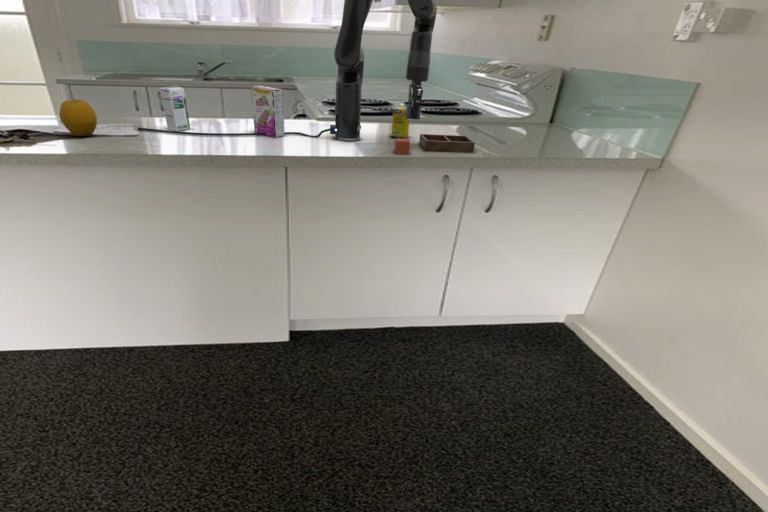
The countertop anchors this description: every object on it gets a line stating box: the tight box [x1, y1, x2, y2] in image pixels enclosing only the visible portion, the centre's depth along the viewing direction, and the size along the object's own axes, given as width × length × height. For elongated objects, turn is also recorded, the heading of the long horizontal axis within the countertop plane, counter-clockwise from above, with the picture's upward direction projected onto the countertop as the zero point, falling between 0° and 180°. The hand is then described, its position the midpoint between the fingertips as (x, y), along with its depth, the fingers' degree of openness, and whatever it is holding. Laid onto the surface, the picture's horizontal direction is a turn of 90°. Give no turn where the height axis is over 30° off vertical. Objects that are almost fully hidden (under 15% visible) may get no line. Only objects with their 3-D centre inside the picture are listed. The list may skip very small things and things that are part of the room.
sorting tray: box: [418, 133, 476, 154], centre depth 155 cm, size 18×11×4 cm, turn 96°
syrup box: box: [159, 85, 191, 132], centre depth 151 cm, size 6×6×14 cm
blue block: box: [405, 103, 422, 121], centre depth 149 cm, size 4×4×4 cm
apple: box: [59, 98, 98, 138], centre depth 135 cm, size 10×10×12 cm
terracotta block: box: [394, 138, 411, 155], centre depth 144 cm, size 4×4×4 cm
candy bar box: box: [250, 85, 286, 138], centre depth 153 cm, size 11×5×16 cm, turn 58°
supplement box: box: [390, 106, 410, 139], centre depth 164 cm, size 6×6×11 cm
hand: (412, 117), depth 150 cm, fingers closed on blue block, 4 cm apart
